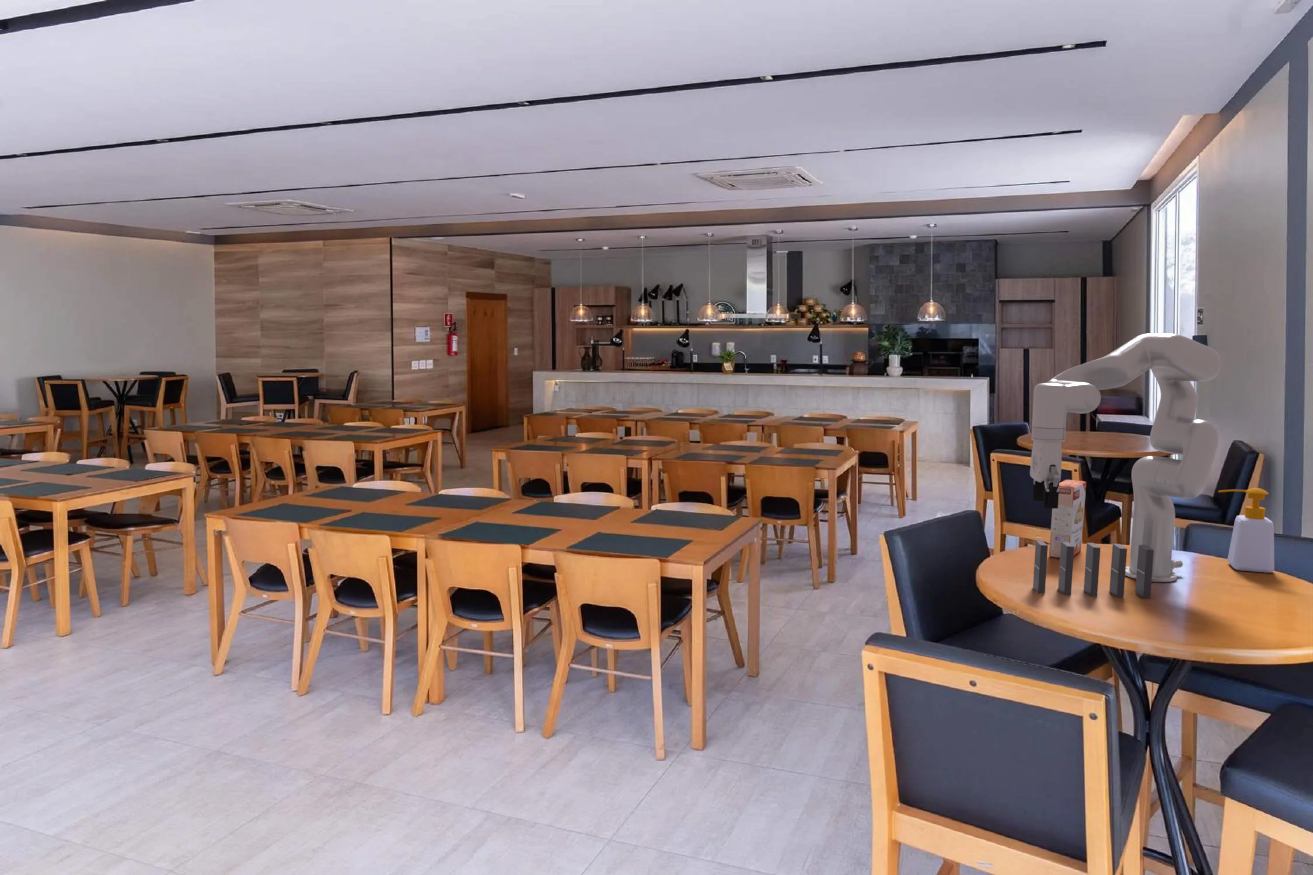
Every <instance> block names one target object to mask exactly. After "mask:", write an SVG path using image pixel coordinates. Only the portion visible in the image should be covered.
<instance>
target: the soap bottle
mask: <svg viewBox="0 0 1313 875" xmlns="http://www.w3.org/2000/svg"><path fill="white" fill-rule="evenodd" d="M1227 492H1241V493H1245V494H1247V498H1248V499H1251V500H1252V503H1251V505H1245V508H1244V514H1239V515H1236V517H1235V519H1234V524H1233V529H1232V534H1231V539H1230V544H1229V551H1228V556H1227V562H1228V563H1229V565H1230V566H1231V567H1232V568H1233V569H1235V570H1237V571H1241V572H1254V573H1263V572H1264V573H1266V574H1268V573H1269V574H1270V573H1273V572H1274V570H1275V531H1274V530H1275V529H1274V528H1275V527H1274V526H1275V525H1274V522H1273V521H1272V520H1270V519H1269V518H1268V517H1266V516H1265V515H1266V507H1263V506H1260V501H1261V500H1265V499H1266V498H1265V497H1266V496H1267V495H1269V492H1268V491H1267V490H1265V489H1263V488H1260V487H1259V488H1258V487H1253V488H1248V489H1222V490H1218V493H1227Z"/></svg>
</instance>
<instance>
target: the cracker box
mask: <svg viewBox="0 0 1313 875" xmlns="http://www.w3.org/2000/svg"><path fill="white" fill-rule="evenodd" d="M1086 489H1087V481H1084V480H1073V479H1064V480H1063V481H1061V482H1060V481H1059V498H1058V508H1057V509H1054V508H1051V524H1050V535H1049V537H1050V538H1049V546H1048V549H1049V550H1048V557H1049V558H1054V559H1060V551H1061V542H1069V543H1070V544H1071V545H1073V546H1074V557H1075V556H1076V555H1077V554H1079V553H1080V552H1082V539H1083V528H1084V514H1085V504H1086V503H1085V501H1086Z"/></svg>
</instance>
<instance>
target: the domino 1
mask: <svg viewBox="0 0 1313 875" xmlns="http://www.w3.org/2000/svg"><path fill="white" fill-rule="evenodd" d="M1034 548H1035V550H1034V563H1033V565H1034V566H1033V581H1032V582H1033V583H1032V588H1033V590H1034V589H1035V590H1036V591H1037V592H1038V593H1037V592H1036V591H1035V592H1036V593H1037V594H1040V593H1045V594H1046V583H1047V580H1046V579H1047V566H1048V565H1047V564H1048V553H1049V550H1048V549H1049V546H1048V544H1047V543H1045V542H1044V540H1035V547H1034Z"/></svg>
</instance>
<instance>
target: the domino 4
mask: <svg viewBox="0 0 1313 875" xmlns="http://www.w3.org/2000/svg"><path fill="white" fill-rule="evenodd" d="M1127 553H1128V548H1126V547H1125V546H1123V545H1122V544H1120V543H1112V550H1111V563H1110V577H1109V578H1110V579H1109V590H1108V591H1109V592H1110V593H1111V594H1112V595H1113V596H1114V597H1115V598H1124V597H1125V596H1124V595H1125V583H1126V575H1125V571H1126V567H1127V555H1128V554H1127Z"/></svg>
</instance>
